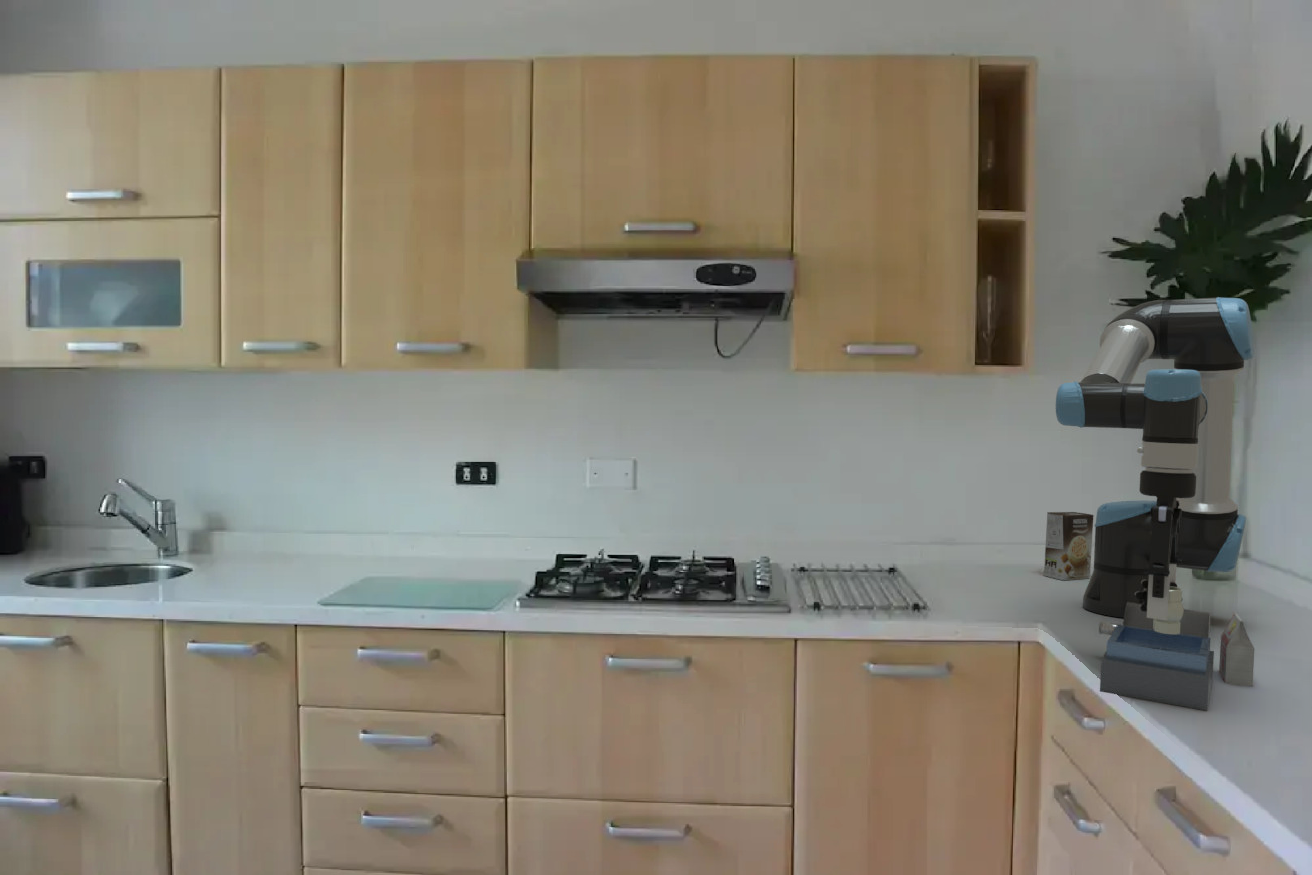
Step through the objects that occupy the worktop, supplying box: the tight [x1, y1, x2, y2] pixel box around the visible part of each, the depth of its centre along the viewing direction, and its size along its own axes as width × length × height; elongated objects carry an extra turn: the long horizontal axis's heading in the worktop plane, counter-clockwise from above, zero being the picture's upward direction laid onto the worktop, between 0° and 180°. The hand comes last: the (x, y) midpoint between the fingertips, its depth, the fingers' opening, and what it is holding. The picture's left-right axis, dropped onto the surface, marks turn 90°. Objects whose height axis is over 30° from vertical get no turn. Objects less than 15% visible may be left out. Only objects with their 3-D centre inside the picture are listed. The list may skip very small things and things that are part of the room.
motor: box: [1098, 602, 1215, 711], centre depth 147 cm, size 26×17×10 cm, turn 147°
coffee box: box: [1043, 511, 1095, 581], centre depth 229 cm, size 9×6×16 cm
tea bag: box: [1218, 612, 1255, 687], centre depth 148 cm, size 4×7×10 cm, turn 155°
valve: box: [1135, 580, 1185, 635], centre depth 141 cm, size 7×7×12 cm
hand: (1160, 611), depth 142 cm, fingers closed on valve, 12 cm apart
